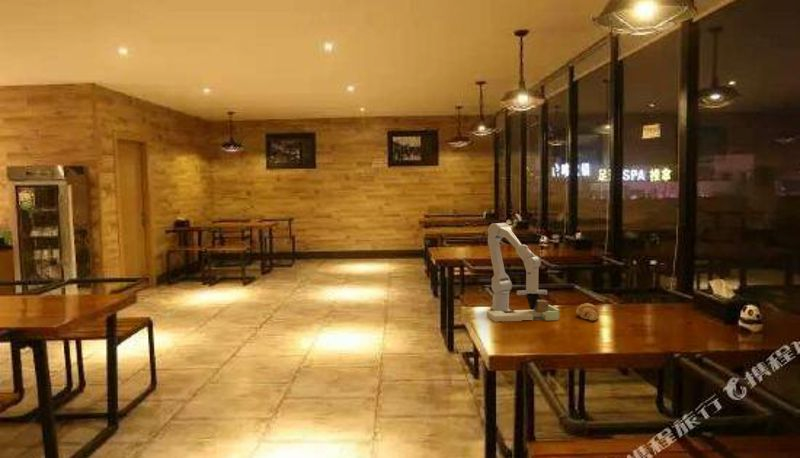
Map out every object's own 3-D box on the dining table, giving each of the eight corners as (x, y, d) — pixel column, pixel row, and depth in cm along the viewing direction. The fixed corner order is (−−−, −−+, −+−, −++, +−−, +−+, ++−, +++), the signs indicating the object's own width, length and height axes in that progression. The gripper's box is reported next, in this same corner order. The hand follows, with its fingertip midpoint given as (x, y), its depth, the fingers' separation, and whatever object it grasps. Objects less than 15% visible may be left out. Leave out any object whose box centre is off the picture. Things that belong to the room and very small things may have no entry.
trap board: (486, 315, 284) (486, 306, 284) (548, 313, 288) (548, 304, 288) (495, 322, 270) (495, 312, 270) (559, 320, 274) (560, 310, 274)
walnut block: (534, 310, 285) (534, 299, 284) (544, 309, 285) (544, 299, 285) (537, 312, 280) (538, 301, 279) (547, 312, 280) (548, 301, 280)
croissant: (599, 329, 270) (608, 314, 270) (580, 319, 270) (589, 304, 269) (586, 318, 292) (594, 304, 291) (568, 309, 291) (576, 295, 291)
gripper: (520, 283, 277) (520, 311, 278) (549, 282, 279) (549, 310, 280) (515, 280, 284) (515, 308, 285) (544, 280, 286) (543, 307, 287)
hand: (531, 309), depth 283 cm, fingers closed
